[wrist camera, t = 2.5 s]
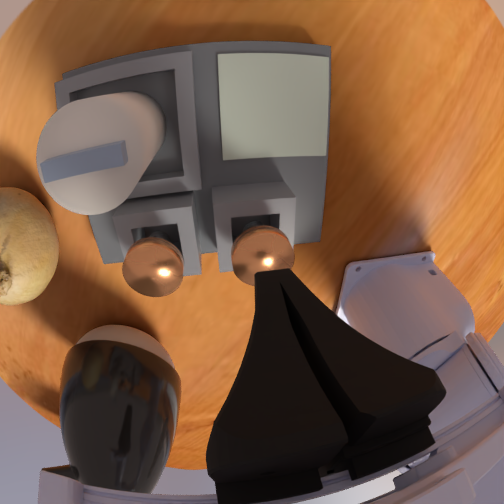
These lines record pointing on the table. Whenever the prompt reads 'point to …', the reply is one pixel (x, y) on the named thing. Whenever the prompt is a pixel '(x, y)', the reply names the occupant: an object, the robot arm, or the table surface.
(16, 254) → the onion
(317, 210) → the housing
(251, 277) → the plunger
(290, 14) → the table surface
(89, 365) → the pump dispenser
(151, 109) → the disc
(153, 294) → the plunger
